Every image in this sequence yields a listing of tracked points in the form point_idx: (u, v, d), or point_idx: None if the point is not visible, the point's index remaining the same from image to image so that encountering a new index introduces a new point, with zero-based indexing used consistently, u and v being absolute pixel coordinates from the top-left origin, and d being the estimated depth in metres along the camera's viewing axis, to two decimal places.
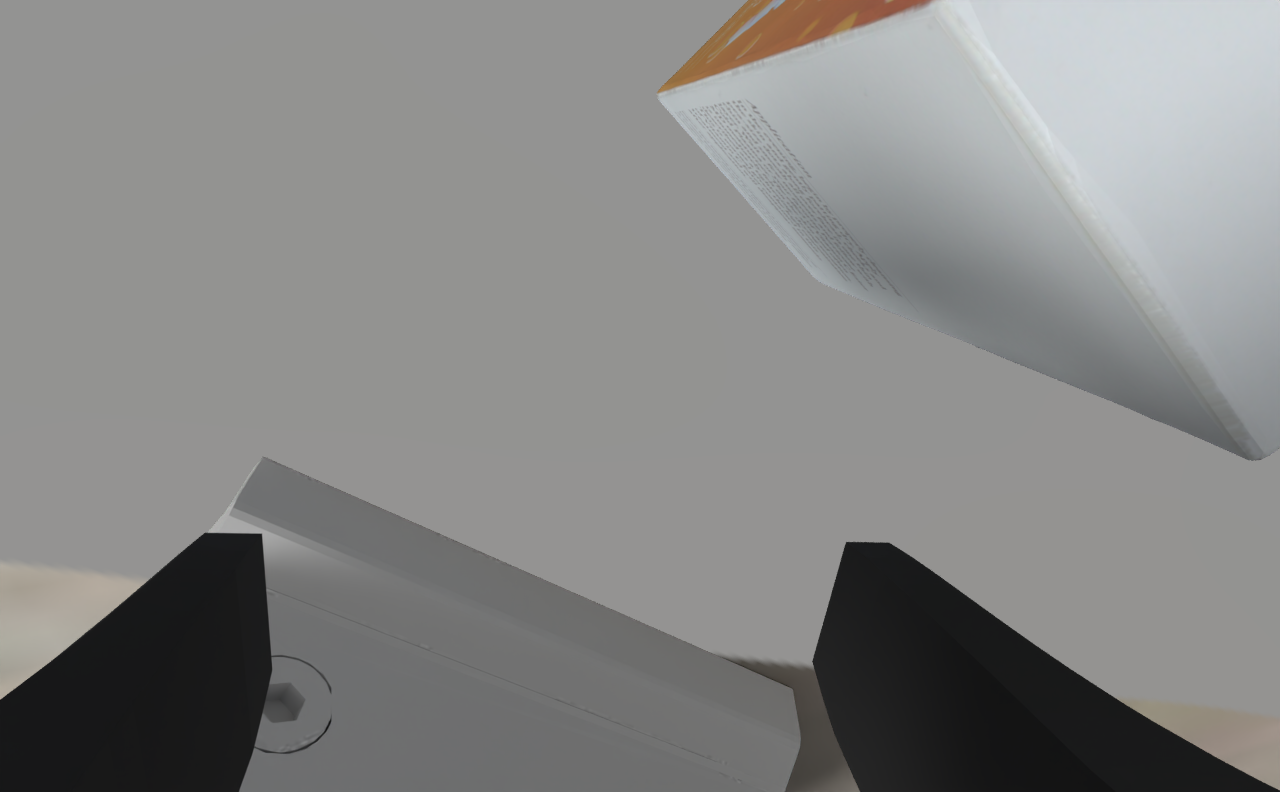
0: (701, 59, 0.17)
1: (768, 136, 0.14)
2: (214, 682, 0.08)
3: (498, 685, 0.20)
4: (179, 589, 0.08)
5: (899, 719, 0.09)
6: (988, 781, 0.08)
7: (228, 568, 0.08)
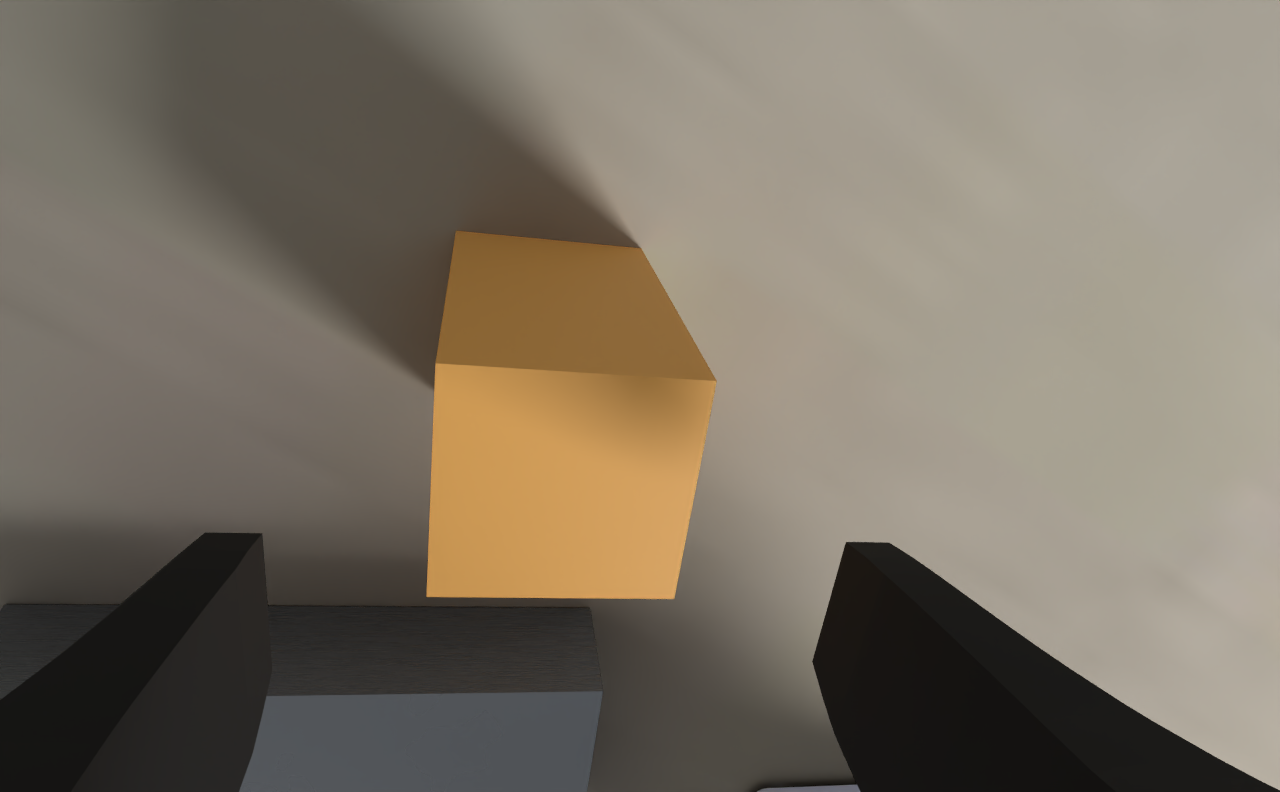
0: None
1: None
2: (214, 682, 0.08)
3: None
4: (179, 589, 0.08)
5: (899, 719, 0.09)
6: (988, 781, 0.08)
7: (228, 568, 0.08)
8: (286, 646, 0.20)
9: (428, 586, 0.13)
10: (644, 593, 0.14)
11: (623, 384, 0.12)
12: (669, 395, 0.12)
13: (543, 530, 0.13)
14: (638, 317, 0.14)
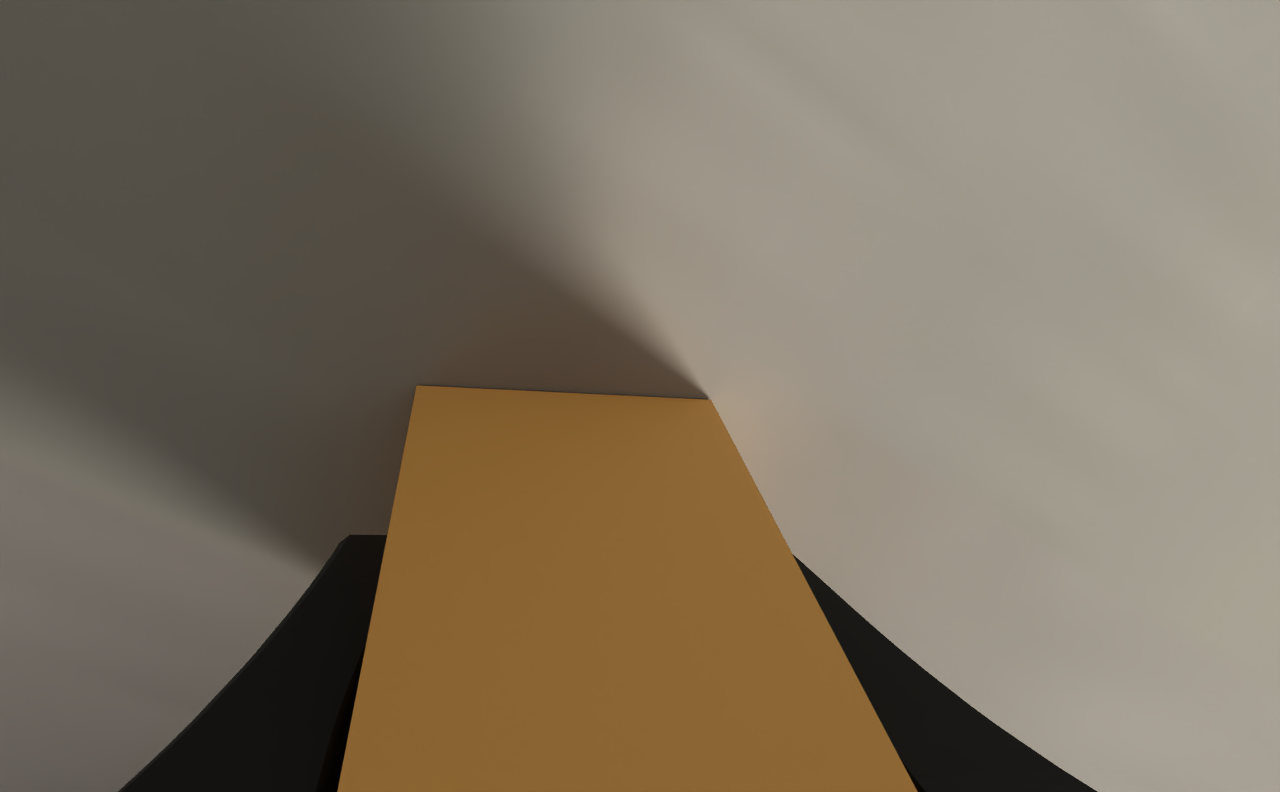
0: None
1: None
2: None
3: None
4: (349, 589, 0.08)
5: None
6: None
7: None
8: None
9: None
10: None
11: None
12: None
13: None
14: (745, 618, 0.07)
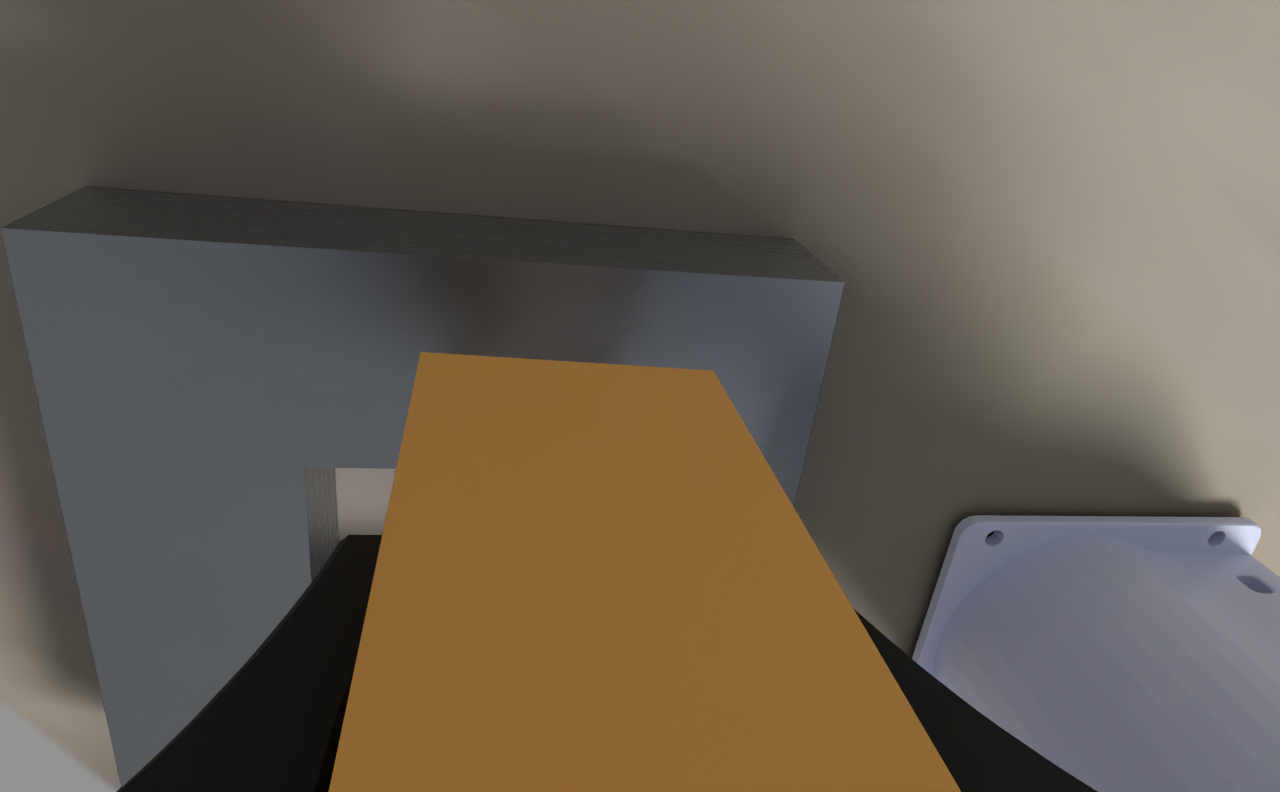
0: None
1: None
2: None
3: None
4: (348, 589, 0.08)
5: None
6: None
7: None
8: (441, 232, 0.15)
9: None
10: None
11: None
12: None
13: None
14: (748, 566, 0.07)
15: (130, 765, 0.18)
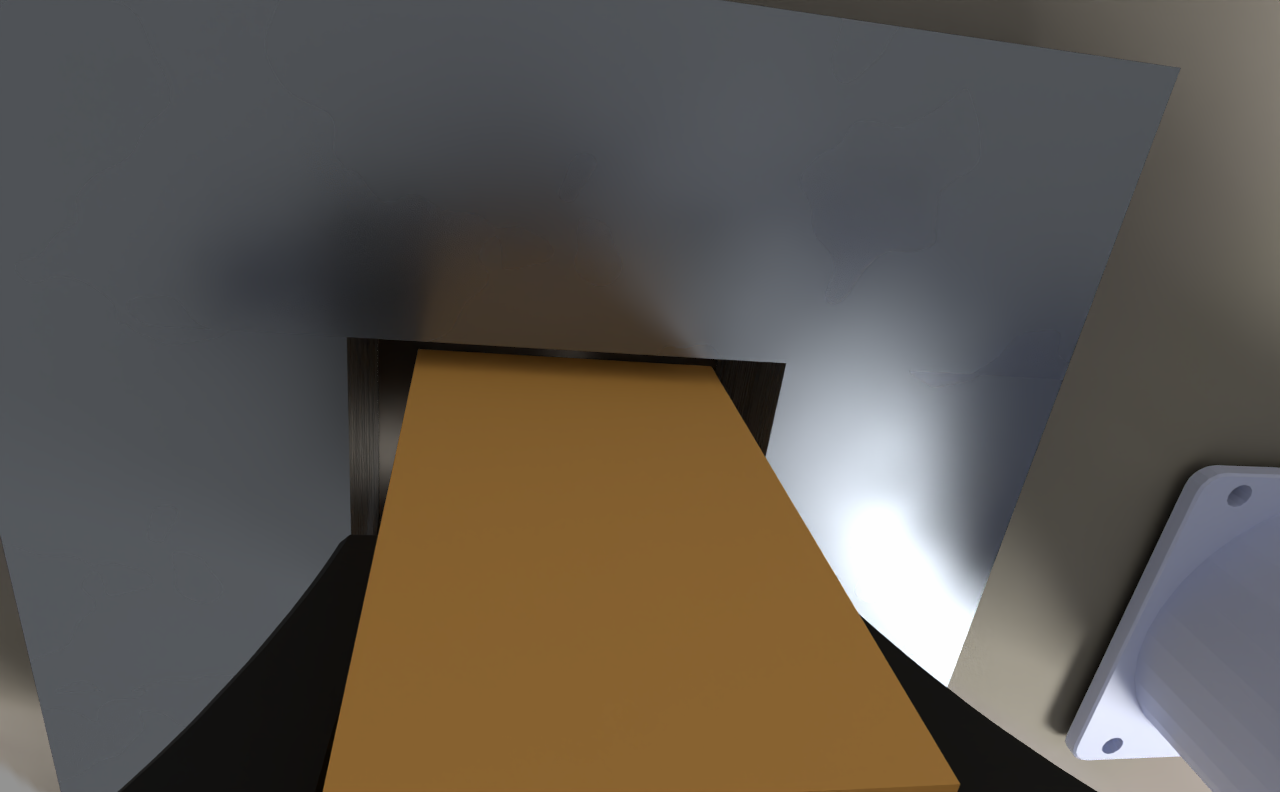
0: None
1: None
2: None
3: None
4: (348, 589, 0.08)
5: None
6: None
7: None
8: None
9: None
10: None
11: None
12: None
13: None
14: (746, 558, 0.07)
15: (80, 789, 0.12)
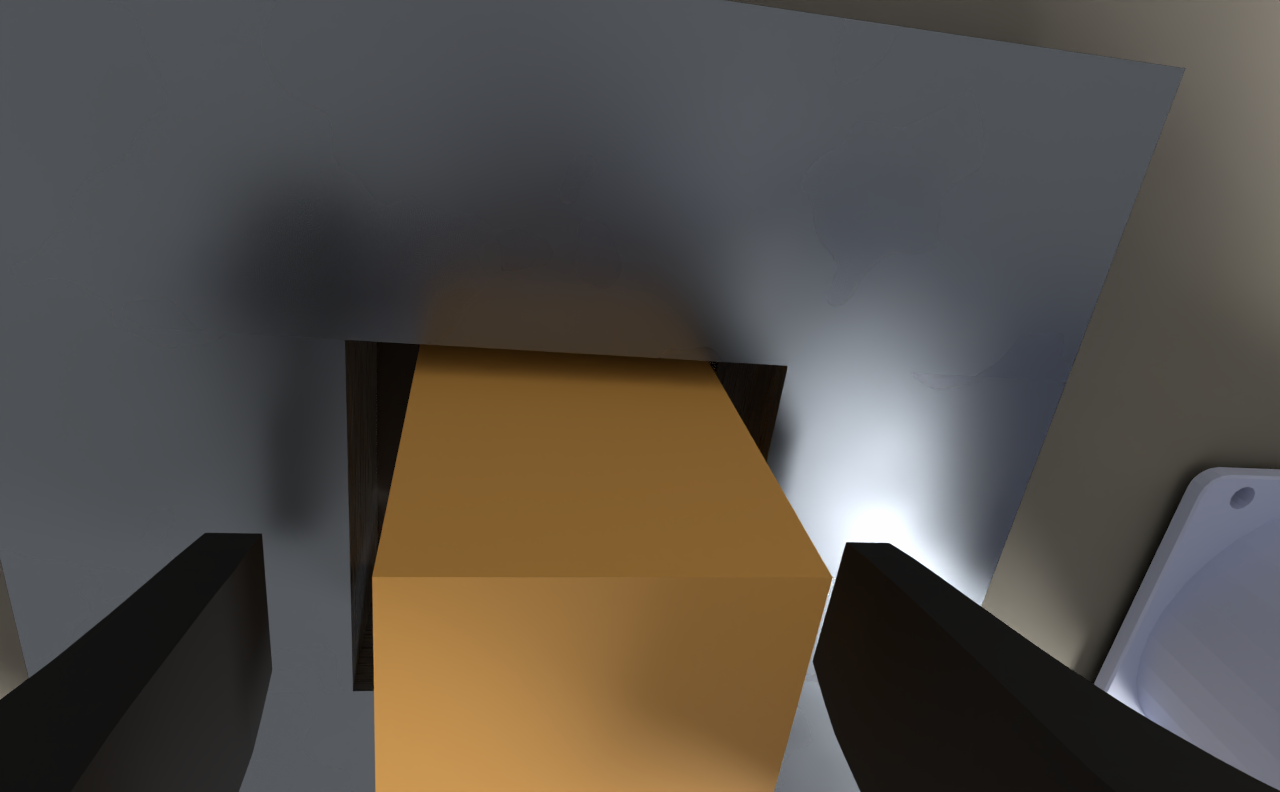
0: None
1: None
2: (214, 682, 0.08)
3: None
4: (179, 589, 0.08)
5: (899, 719, 0.09)
6: (988, 781, 0.08)
7: (228, 568, 0.08)
8: None
9: None
10: None
11: (684, 590, 0.07)
12: (757, 601, 0.07)
13: None
14: (692, 442, 0.10)
15: None
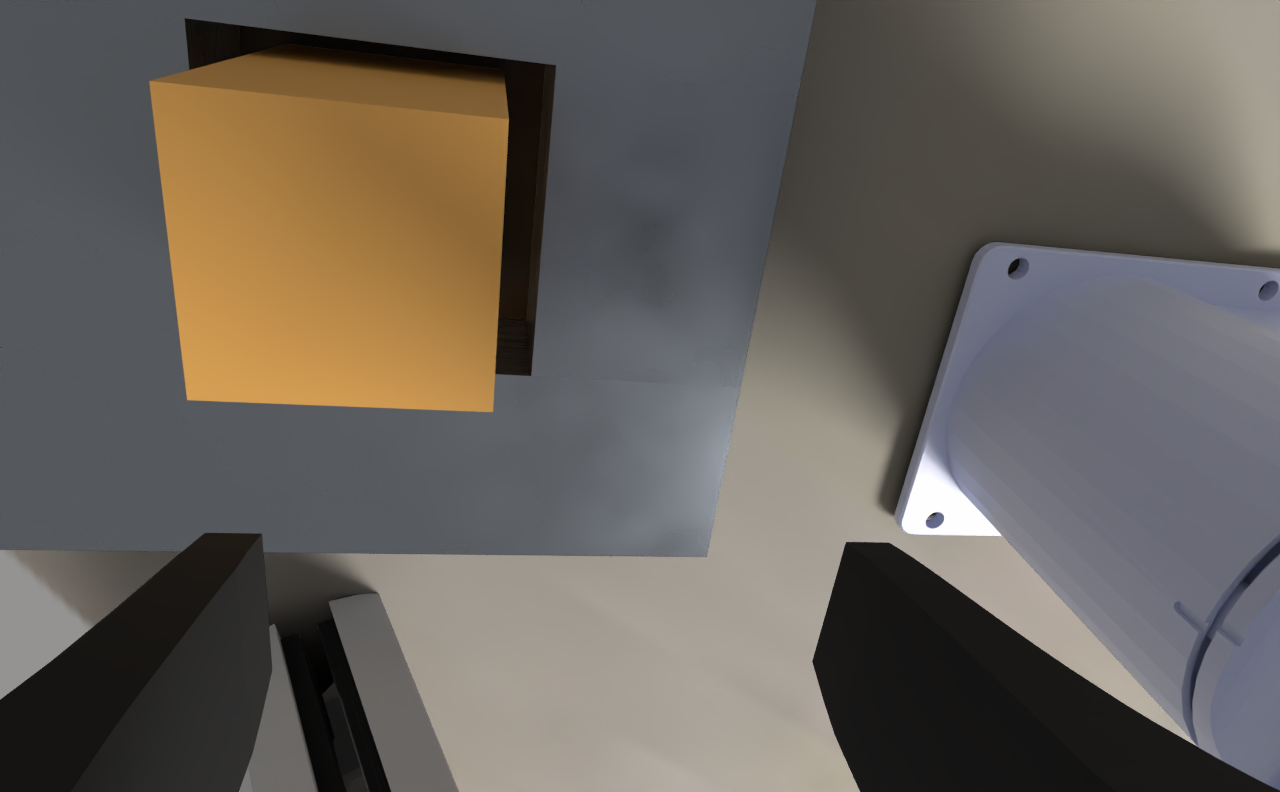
0: None
1: None
2: (214, 682, 0.08)
3: None
4: (179, 589, 0.08)
5: (899, 719, 0.09)
6: (988, 781, 0.08)
7: (228, 568, 0.08)
8: None
9: (187, 386, 0.11)
10: (456, 403, 0.12)
11: (391, 119, 0.10)
12: (451, 136, 0.10)
13: (319, 316, 0.11)
14: (453, 90, 0.12)
15: None
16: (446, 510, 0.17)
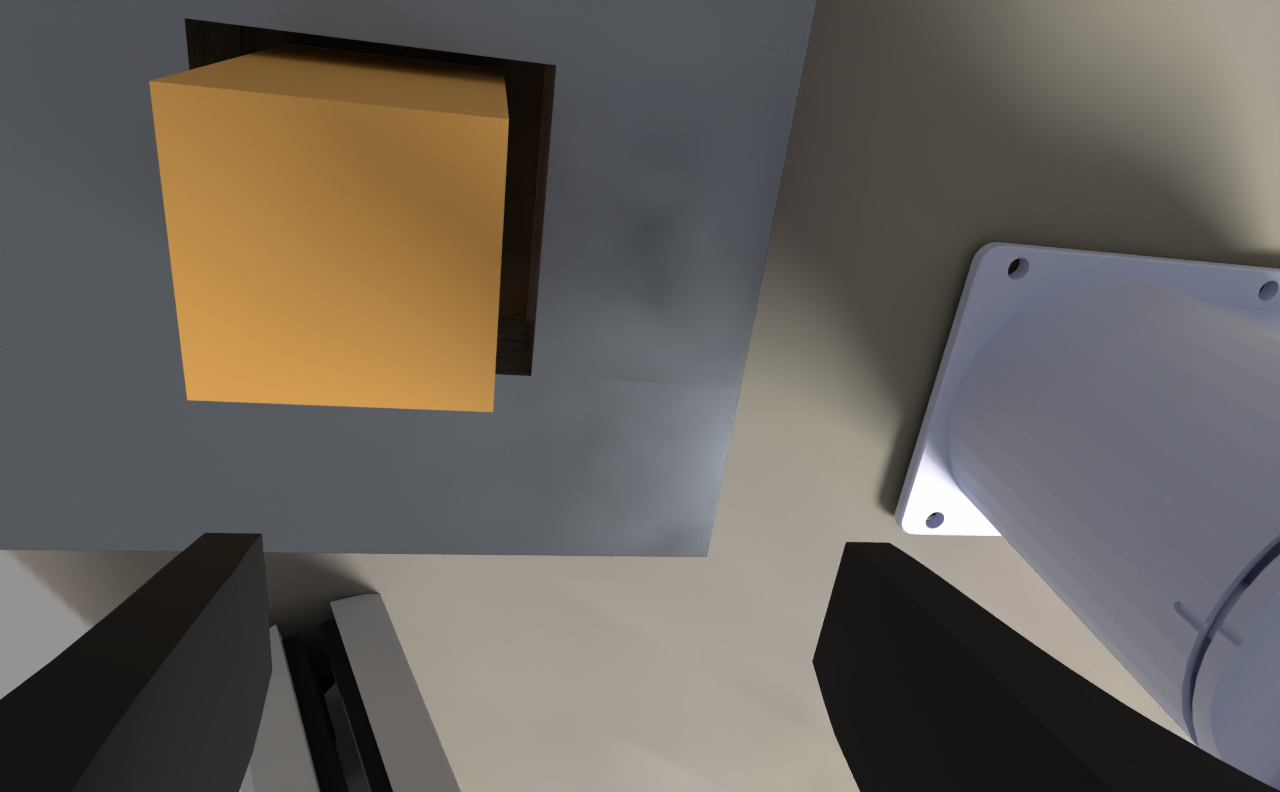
0: None
1: None
2: (214, 682, 0.08)
3: None
4: (179, 589, 0.08)
5: (899, 719, 0.09)
6: (988, 781, 0.08)
7: (228, 568, 0.08)
8: None
9: (187, 386, 0.11)
10: (456, 403, 0.12)
11: (391, 119, 0.10)
12: (451, 136, 0.10)
13: (319, 316, 0.11)
14: (453, 90, 0.12)
15: None
16: (446, 510, 0.17)
